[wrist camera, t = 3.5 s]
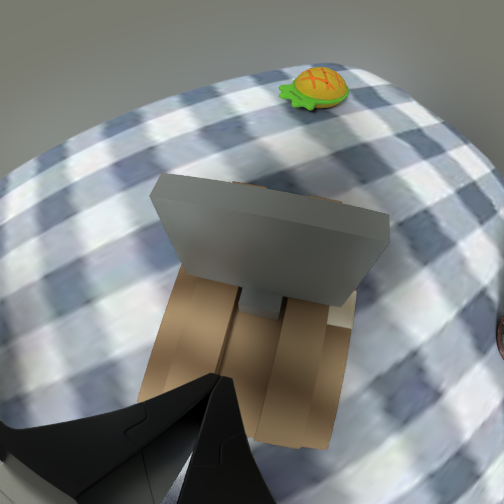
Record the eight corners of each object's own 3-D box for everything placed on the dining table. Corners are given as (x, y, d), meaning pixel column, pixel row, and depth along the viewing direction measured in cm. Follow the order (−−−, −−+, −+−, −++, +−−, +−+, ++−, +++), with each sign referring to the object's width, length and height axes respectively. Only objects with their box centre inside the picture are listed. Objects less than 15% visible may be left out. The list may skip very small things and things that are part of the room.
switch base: (323, 447, 19) (332, 453, 16) (143, 402, 20) (128, 401, 18) (357, 226, 27) (366, 207, 25) (213, 198, 29) (209, 177, 27)
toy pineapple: (355, 107, 36) (363, 76, 32) (304, 132, 34) (308, 95, 29) (319, 85, 39) (323, 55, 34) (267, 105, 36) (267, 71, 32)
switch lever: (332, 330, 21) (388, 268, 12) (187, 298, 23) (138, 217, 13) (339, 281, 23) (388, 194, 13) (203, 252, 24) (171, 155, 15)
